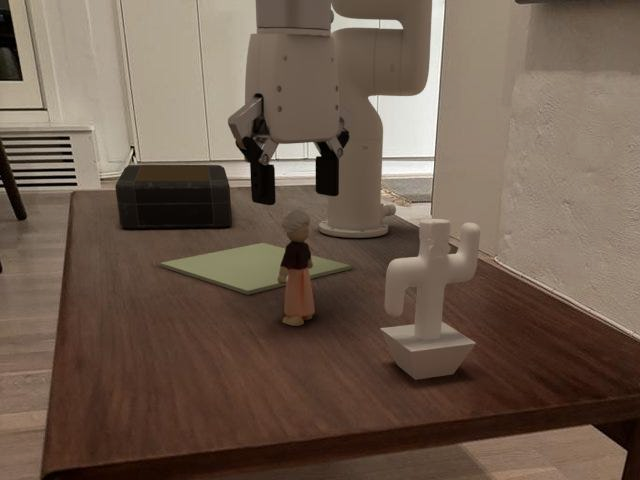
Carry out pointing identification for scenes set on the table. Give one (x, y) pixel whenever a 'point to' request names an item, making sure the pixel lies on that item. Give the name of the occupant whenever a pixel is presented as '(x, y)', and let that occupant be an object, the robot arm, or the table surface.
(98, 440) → the table surface
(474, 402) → the table surface
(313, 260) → the mat
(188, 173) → the cash box
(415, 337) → the figurine
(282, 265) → the grandmother figurine
